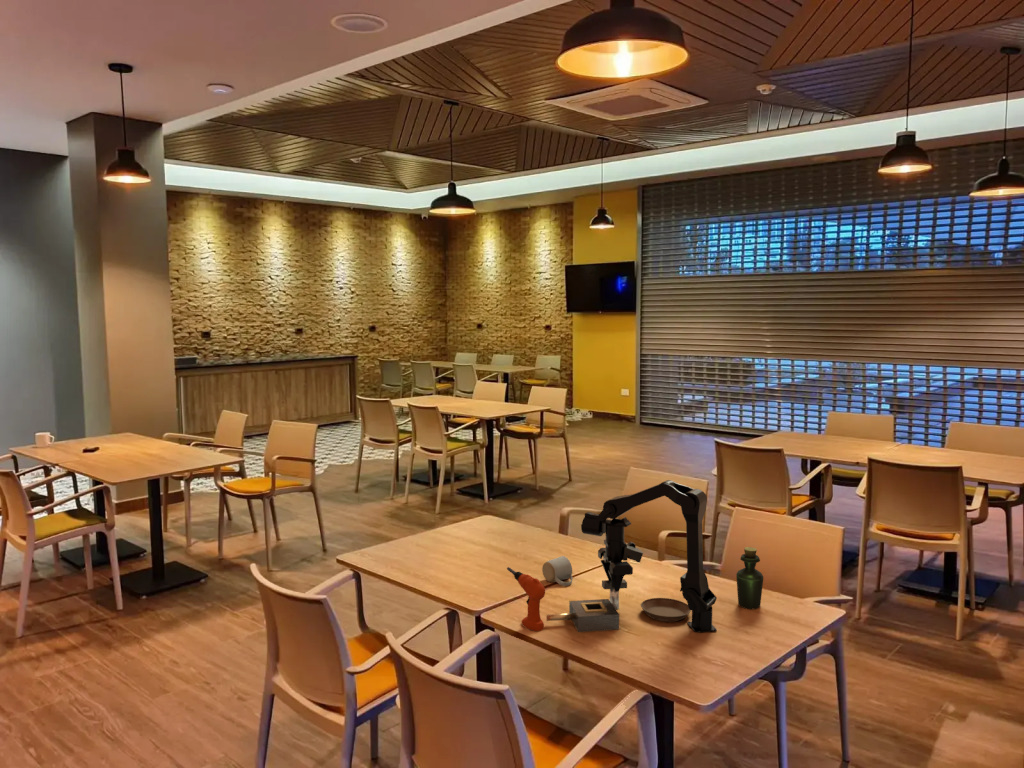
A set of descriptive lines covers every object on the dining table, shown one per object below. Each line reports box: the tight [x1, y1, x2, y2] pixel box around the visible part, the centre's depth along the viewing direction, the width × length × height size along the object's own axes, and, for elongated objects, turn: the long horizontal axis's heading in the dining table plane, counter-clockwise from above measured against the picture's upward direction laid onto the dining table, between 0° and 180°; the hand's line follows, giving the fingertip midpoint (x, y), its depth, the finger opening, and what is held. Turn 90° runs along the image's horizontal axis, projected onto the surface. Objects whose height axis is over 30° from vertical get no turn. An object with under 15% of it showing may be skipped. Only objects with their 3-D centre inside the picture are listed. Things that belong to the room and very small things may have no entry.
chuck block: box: [545, 598, 620, 633], centre depth 216 cm, size 12×20×5 cm, turn 97°
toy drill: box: [506, 566, 546, 632], centre depth 217 cm, size 5×19×15 cm, turn 33°
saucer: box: [640, 597, 692, 622], centre depth 222 cm, size 15×15×3 cm
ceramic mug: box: [541, 555, 574, 587], centre depth 251 cm, size 11×8×8 cm
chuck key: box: [601, 578, 628, 611], centre depth 227 cm, size 3×7×8 cm, turn 98°
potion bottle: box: [735, 546, 764, 610], centre depth 228 cm, size 8×8×18 cm
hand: (614, 588), depth 227 cm, fingers open, 5 cm apart
